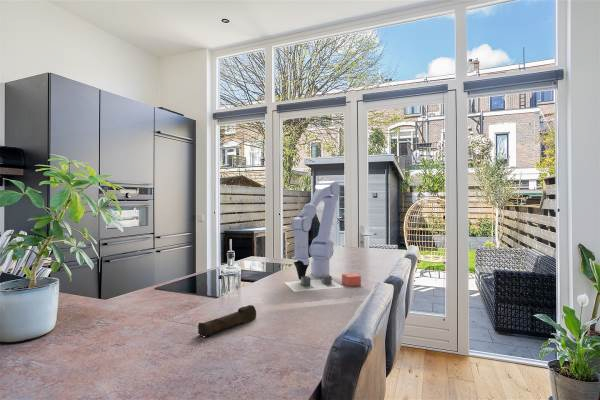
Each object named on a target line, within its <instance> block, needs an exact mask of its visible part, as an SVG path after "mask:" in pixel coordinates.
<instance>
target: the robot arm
mask: <svg viewBox="0 0 600 400" xmlns="http://www.w3.org/2000/svg"><path fill="white" fill-rule="evenodd" d="M340 190H341V188H340V185H339V182H338V181H336V180H333V181H317V182H316V184H315V186H314V193H313V195H312V197H311V199H310V202H309V203H306V204H304V206H303V208H302V209H301V211H300V212H299V214H298V215H297V216H296V217H294V218H293V219H292V221H291V224H290V228H291V229H292V235H293V239H294V240H293V242H294V247H293V249H294V250H293V251H294V253H293V255H294V256H292V257H291V260H296V261H293V264H294V266H295V269H296V272H297V277H298V280H299V281H301V276H306V274H307V269H308V267H309V265H310V264H311V265H310V266H311V267H310V269H311V274H312V275H313V276H314V277H315V278H316V277H317V278H322V275H330V268H331V267H330V259H332V257H333V256H334V251H335V250H334V244H335V243H334V242H333V240H332V239H331V238H330V236H331V231H332V226H333V222H334V215H335V211H336V206H337V201H338V200H339V196H340ZM321 201H322V202H324V203H323V204H324V205H323V210H322V214H321V219H320V224H319V230H318V233H317V236H315V238H313V239H312V241H311V244H310V246H309V231H310V230H311V227H312V223H313V219H314V217H315V215H316V213H317V211H318V210H317V207H318V206H319V204H320V203H321ZM309 255H310V256H311V259H312V260H311V261H310V256H309ZM310 262H311V263H310ZM330 276H331V275H330Z"/></svg>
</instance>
